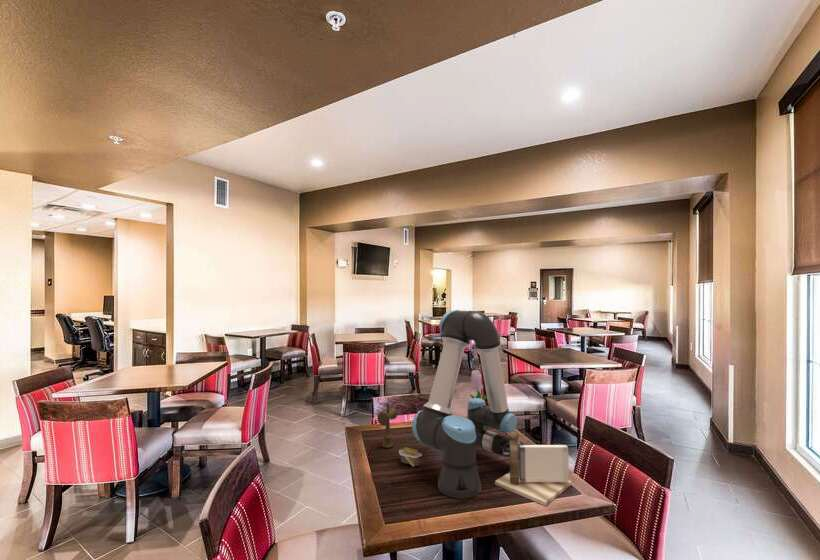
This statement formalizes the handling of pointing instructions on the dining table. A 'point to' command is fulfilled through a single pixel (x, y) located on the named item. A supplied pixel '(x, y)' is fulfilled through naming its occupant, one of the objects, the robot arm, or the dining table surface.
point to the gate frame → (530, 490)
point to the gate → (543, 463)
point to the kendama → (387, 424)
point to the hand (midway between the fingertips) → (552, 461)
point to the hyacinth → (477, 384)
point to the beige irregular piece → (410, 456)
